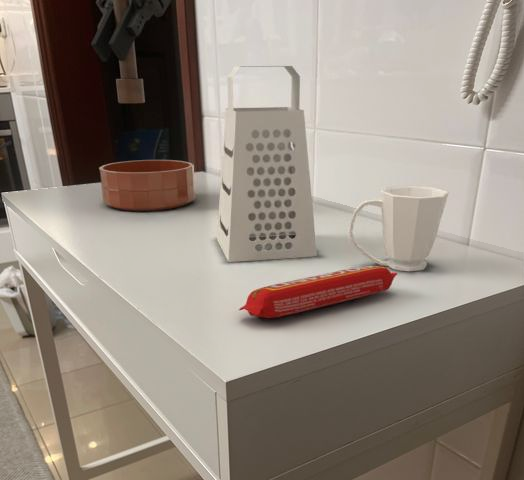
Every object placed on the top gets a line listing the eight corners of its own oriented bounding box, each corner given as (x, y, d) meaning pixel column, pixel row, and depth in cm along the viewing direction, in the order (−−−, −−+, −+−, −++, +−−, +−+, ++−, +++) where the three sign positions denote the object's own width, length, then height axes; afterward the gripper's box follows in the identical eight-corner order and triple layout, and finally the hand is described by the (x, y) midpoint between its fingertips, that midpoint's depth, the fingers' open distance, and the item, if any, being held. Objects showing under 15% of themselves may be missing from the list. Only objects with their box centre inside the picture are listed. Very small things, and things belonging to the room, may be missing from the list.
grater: (316, 256, 65) (323, 65, 57) (228, 262, 64) (221, 65, 55) (294, 234, 75) (297, 67, 66) (216, 238, 73) (209, 67, 64)
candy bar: (374, 284, 56) (376, 255, 55) (400, 295, 53) (403, 265, 52) (234, 317, 49) (233, 284, 48) (256, 331, 46) (255, 297, 45)
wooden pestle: (117, 102, 79) (101, -42, 72) (143, 102, 80) (129, -41, 73) (119, 103, 76) (103, -48, 69) (146, 103, 77) (133, -46, 70)
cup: (444, 276, 59) (455, 197, 55) (348, 273, 59) (353, 196, 56) (432, 256, 65) (442, 185, 61) (346, 255, 66) (350, 184, 62)
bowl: (100, 197, 99) (96, 162, 96) (185, 192, 103) (182, 158, 101) (108, 215, 86) (103, 175, 83) (204, 208, 90) (202, 169, 88)
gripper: (227, -57, 79) (170, 75, 73) (139, -47, 85) (79, 76, 78) (206, -115, 72) (141, 25, 66) (112, -99, 78) (44, 30, 72)
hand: (107, 52), depth 72 cm, fingers closed on wooden pestle, 2 cm apart
